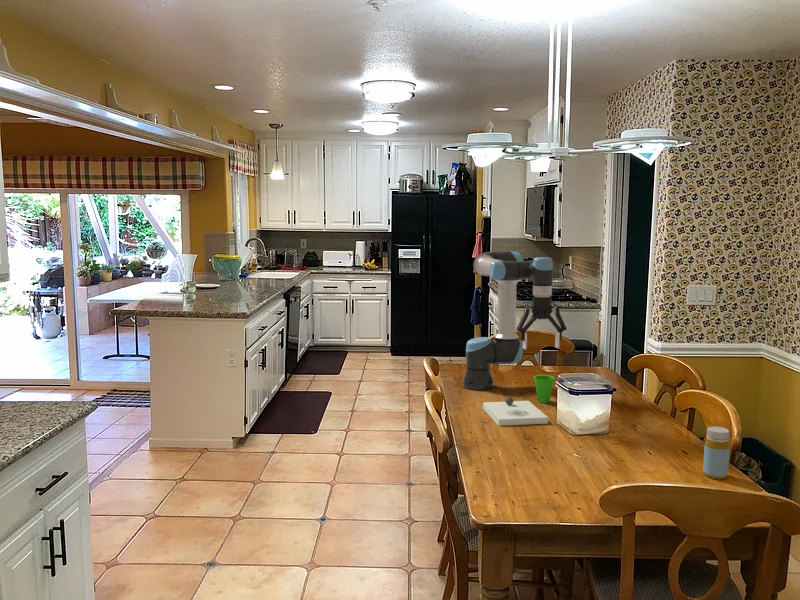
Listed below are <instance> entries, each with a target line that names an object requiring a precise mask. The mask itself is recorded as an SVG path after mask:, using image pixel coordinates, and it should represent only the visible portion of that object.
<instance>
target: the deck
mask: <svg viewBox="0 0 800 600" xmlns="http://www.w3.org/2000/svg"><path fill="white" fill-rule="evenodd" d="M482 409H483V410H484V412H486V413H487V414H488V416H489V417H490V418H491V419H492V420H493V421H494V422H495V423H496V425H498V426H500V427H502V426H521V425H522V426H525V425H539V424H540V425H543V424H549V416H547V415H546V414H545V413H544V412H543V411H542V410H540V409H539V408H538V407H536V406H535V405H534V404H533V403H532V402H531V401H529V400H513V403H512V404H511V405H508V404H506V401H488V402H487V401H486V402H482Z"/></svg>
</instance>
